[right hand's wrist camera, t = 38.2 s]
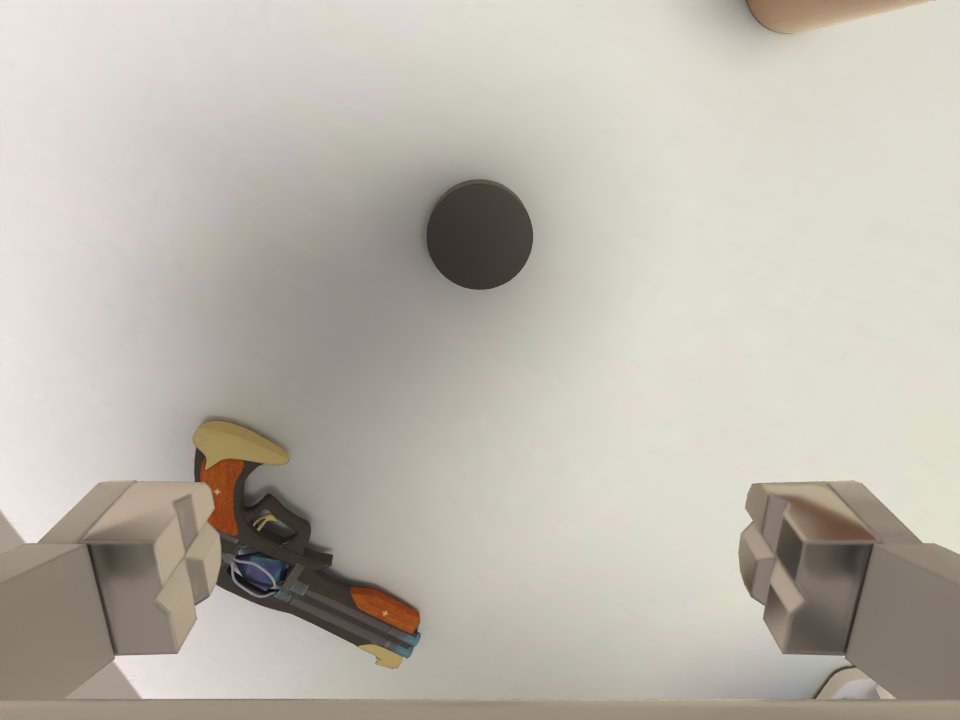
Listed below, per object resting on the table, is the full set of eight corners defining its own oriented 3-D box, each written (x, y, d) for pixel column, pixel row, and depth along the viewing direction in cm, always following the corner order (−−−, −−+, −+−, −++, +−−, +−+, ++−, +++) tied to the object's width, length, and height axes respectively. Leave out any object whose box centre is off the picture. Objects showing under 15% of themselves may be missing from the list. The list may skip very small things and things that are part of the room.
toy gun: (201, 421, 37) (115, 558, 38) (483, 569, 42) (396, 684, 44) (213, 403, 39) (133, 532, 41) (477, 545, 44) (395, 654, 46)
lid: (408, 227, 36) (404, 234, 34) (483, 157, 34) (483, 160, 32) (476, 300, 37) (476, 310, 35) (550, 234, 36) (554, 242, 34)
